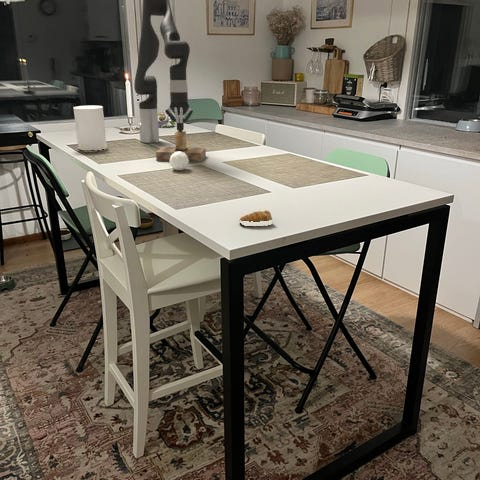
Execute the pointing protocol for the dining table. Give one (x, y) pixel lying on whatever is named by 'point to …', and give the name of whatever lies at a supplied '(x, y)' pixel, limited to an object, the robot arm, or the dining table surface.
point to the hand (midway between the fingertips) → (180, 131)
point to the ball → (179, 160)
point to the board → (191, 152)
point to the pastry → (257, 216)
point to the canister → (90, 127)
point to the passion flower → (164, 119)
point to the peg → (180, 141)
